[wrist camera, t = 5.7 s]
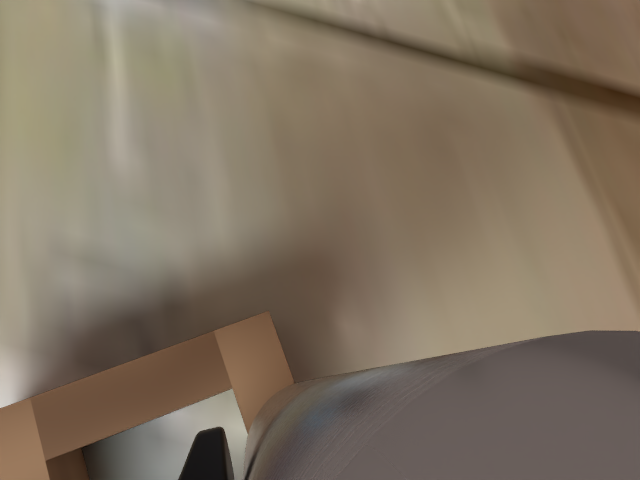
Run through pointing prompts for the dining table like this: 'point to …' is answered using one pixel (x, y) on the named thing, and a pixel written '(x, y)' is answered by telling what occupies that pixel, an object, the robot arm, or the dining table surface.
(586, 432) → the pin
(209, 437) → the robot arm
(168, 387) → the socket block
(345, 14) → the dining table surface
